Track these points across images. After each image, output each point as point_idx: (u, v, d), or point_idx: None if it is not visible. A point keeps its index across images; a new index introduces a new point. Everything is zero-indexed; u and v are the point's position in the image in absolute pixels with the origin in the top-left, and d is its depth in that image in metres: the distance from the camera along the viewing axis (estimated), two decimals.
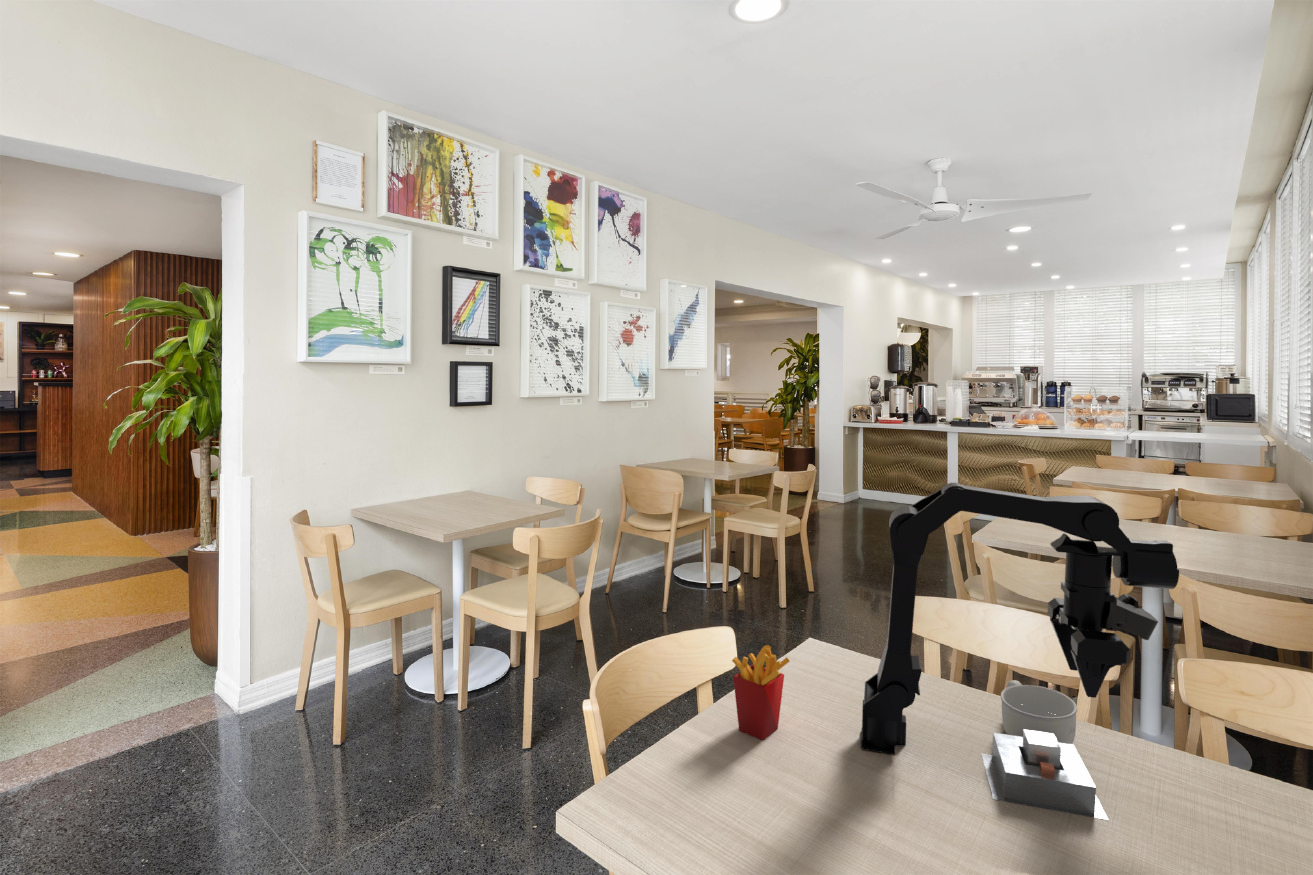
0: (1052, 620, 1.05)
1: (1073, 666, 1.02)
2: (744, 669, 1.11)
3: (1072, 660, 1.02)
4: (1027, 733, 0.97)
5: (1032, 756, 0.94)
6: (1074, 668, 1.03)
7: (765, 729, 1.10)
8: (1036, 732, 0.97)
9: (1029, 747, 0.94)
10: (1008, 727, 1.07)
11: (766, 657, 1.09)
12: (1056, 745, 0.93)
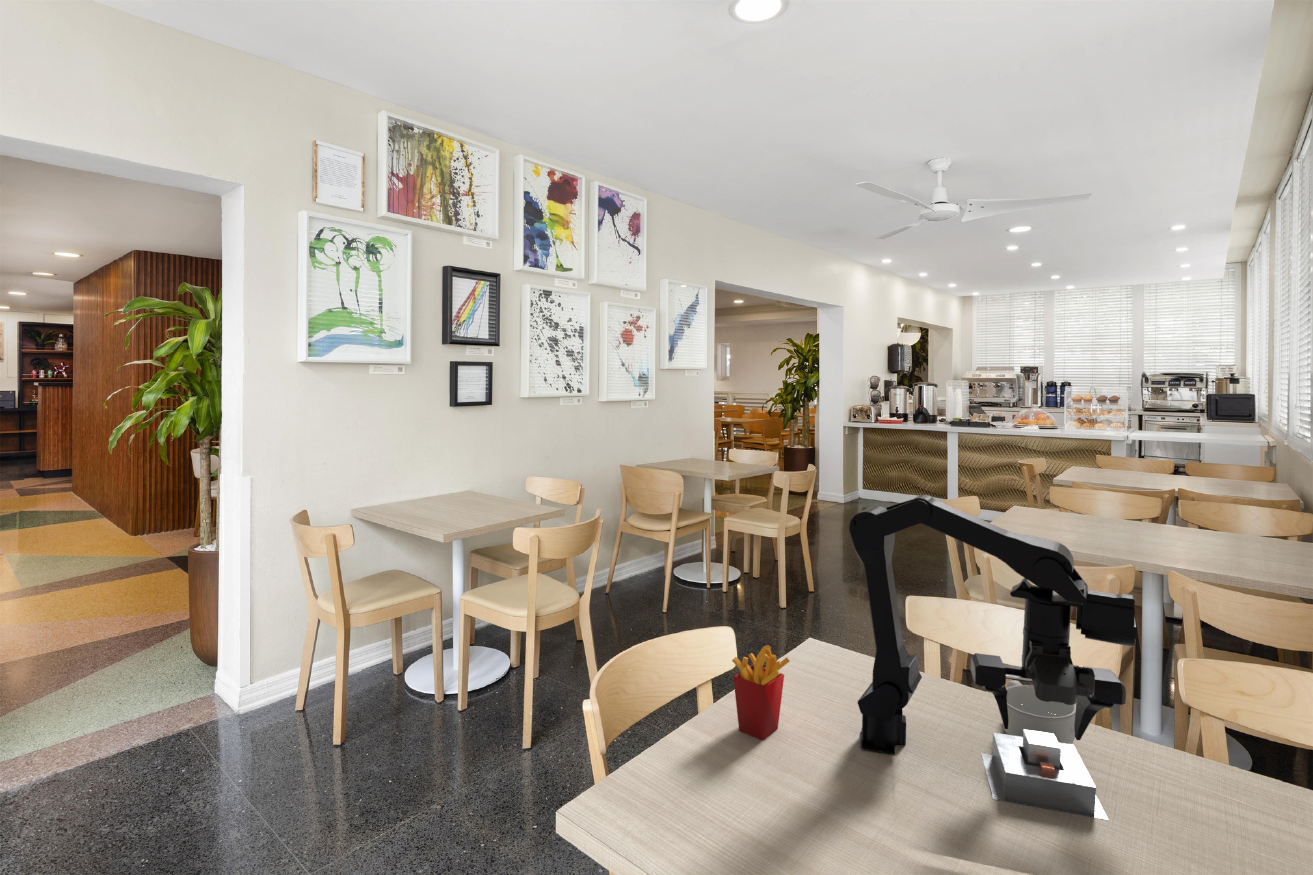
0: None
1: (1075, 734, 0.94)
2: (744, 669, 1.11)
3: (1075, 727, 0.94)
4: (1027, 733, 0.97)
5: (1032, 756, 0.94)
6: (1077, 737, 0.94)
7: (765, 729, 1.10)
8: (1036, 732, 0.97)
9: (1029, 747, 0.94)
10: (1008, 727, 1.07)
11: (766, 657, 1.09)
12: (1056, 745, 0.93)
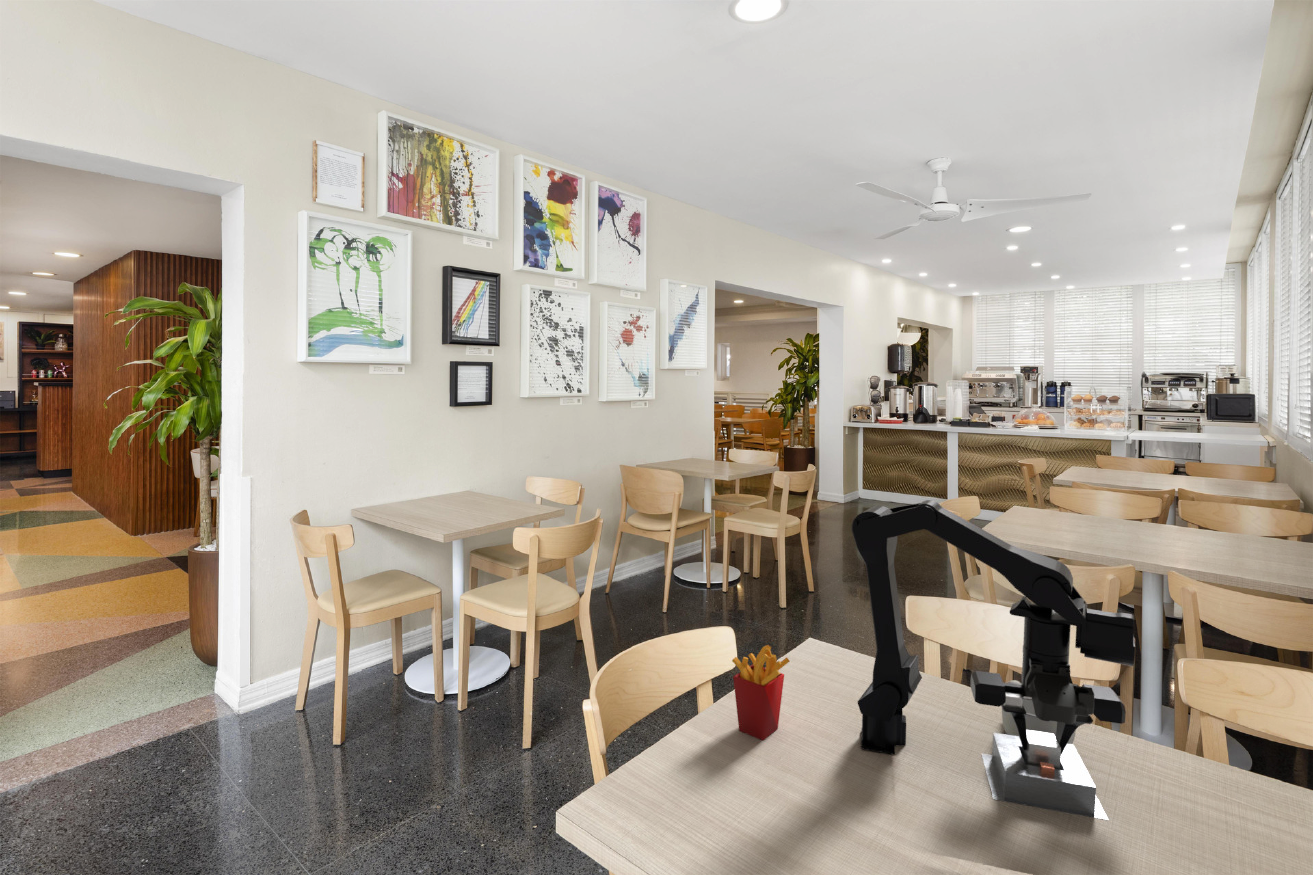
0: None
1: None
2: (744, 669, 1.11)
3: None
4: (1027, 733, 0.97)
5: (1032, 756, 0.94)
6: None
7: (765, 729, 1.10)
8: (1036, 732, 0.97)
9: (1029, 747, 0.94)
10: (1008, 727, 1.07)
11: (766, 657, 1.09)
12: (1056, 745, 0.93)
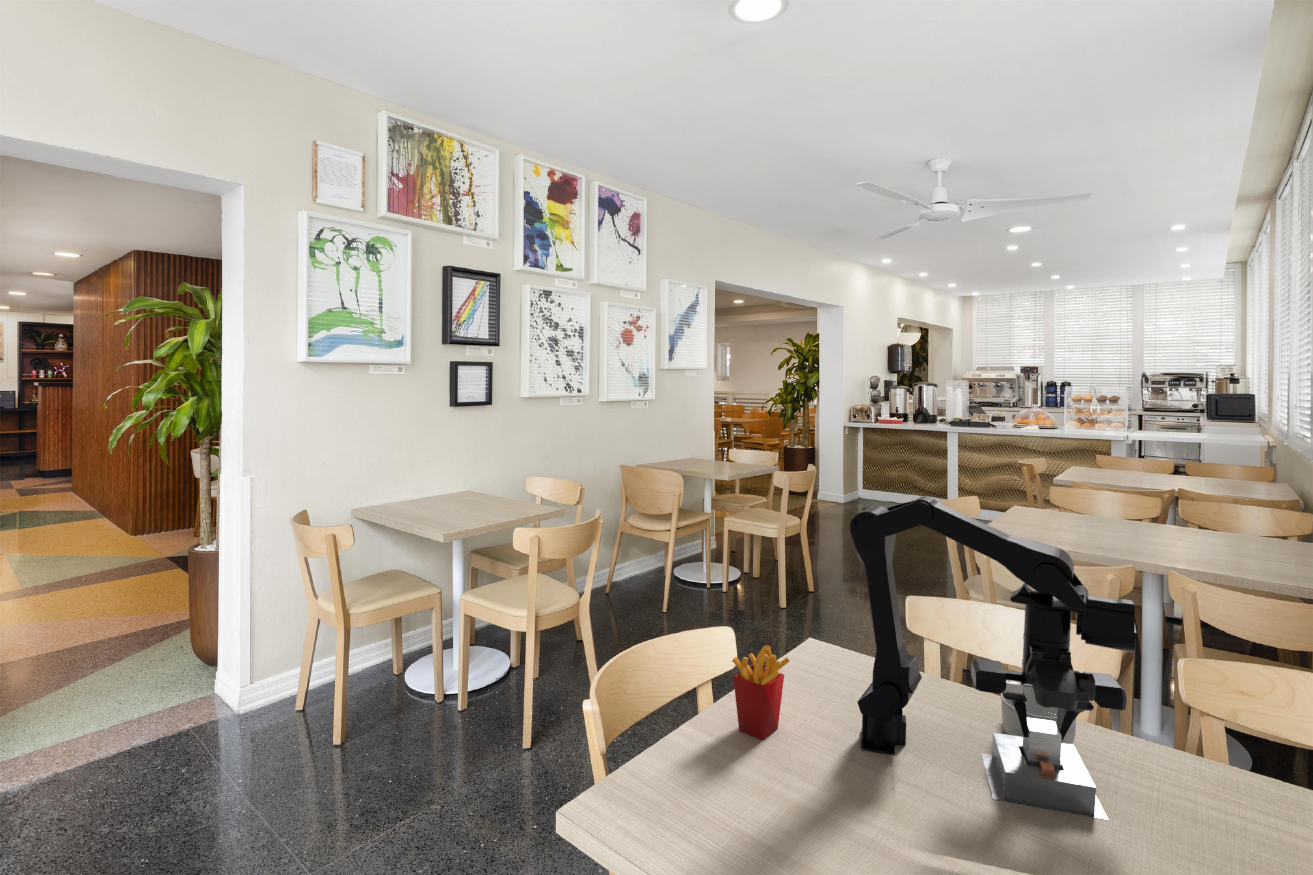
0: None
1: None
2: (744, 669, 1.11)
3: None
4: (1028, 720, 0.97)
5: (1033, 743, 0.94)
6: None
7: (765, 729, 1.10)
8: (1037, 720, 0.97)
9: (1030, 734, 0.94)
10: (1008, 727, 1.07)
11: (766, 657, 1.09)
12: (1057, 732, 0.93)
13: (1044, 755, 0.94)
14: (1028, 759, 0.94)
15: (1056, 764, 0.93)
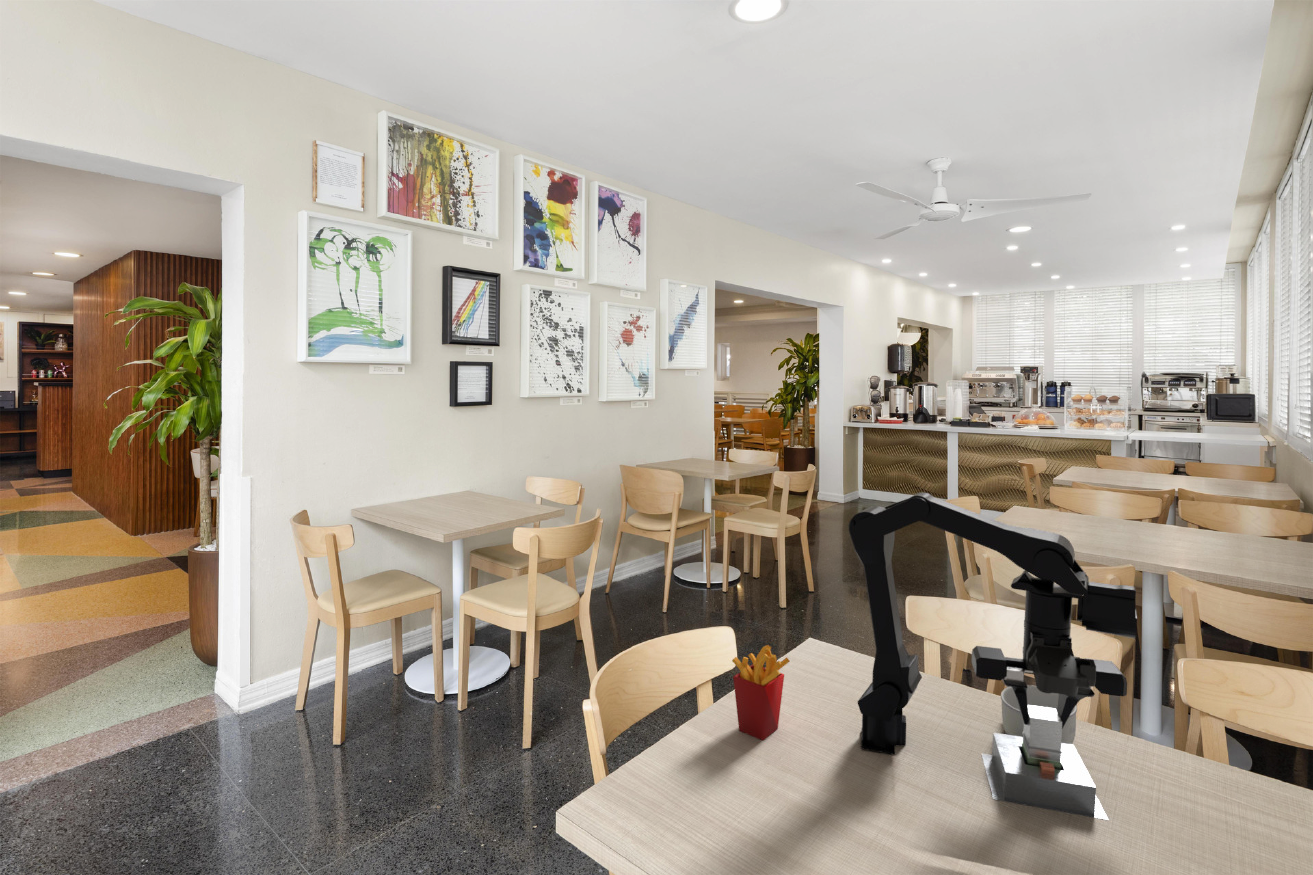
0: None
1: None
2: (744, 669, 1.11)
3: None
4: (1029, 708, 0.96)
5: (1034, 730, 0.94)
6: None
7: (765, 729, 1.10)
8: (1037, 707, 0.97)
9: (1030, 721, 0.94)
10: (1008, 727, 1.07)
11: (766, 657, 1.09)
12: (1057, 719, 0.93)
13: (1045, 742, 0.93)
14: (1029, 746, 0.94)
15: (1057, 751, 0.93)
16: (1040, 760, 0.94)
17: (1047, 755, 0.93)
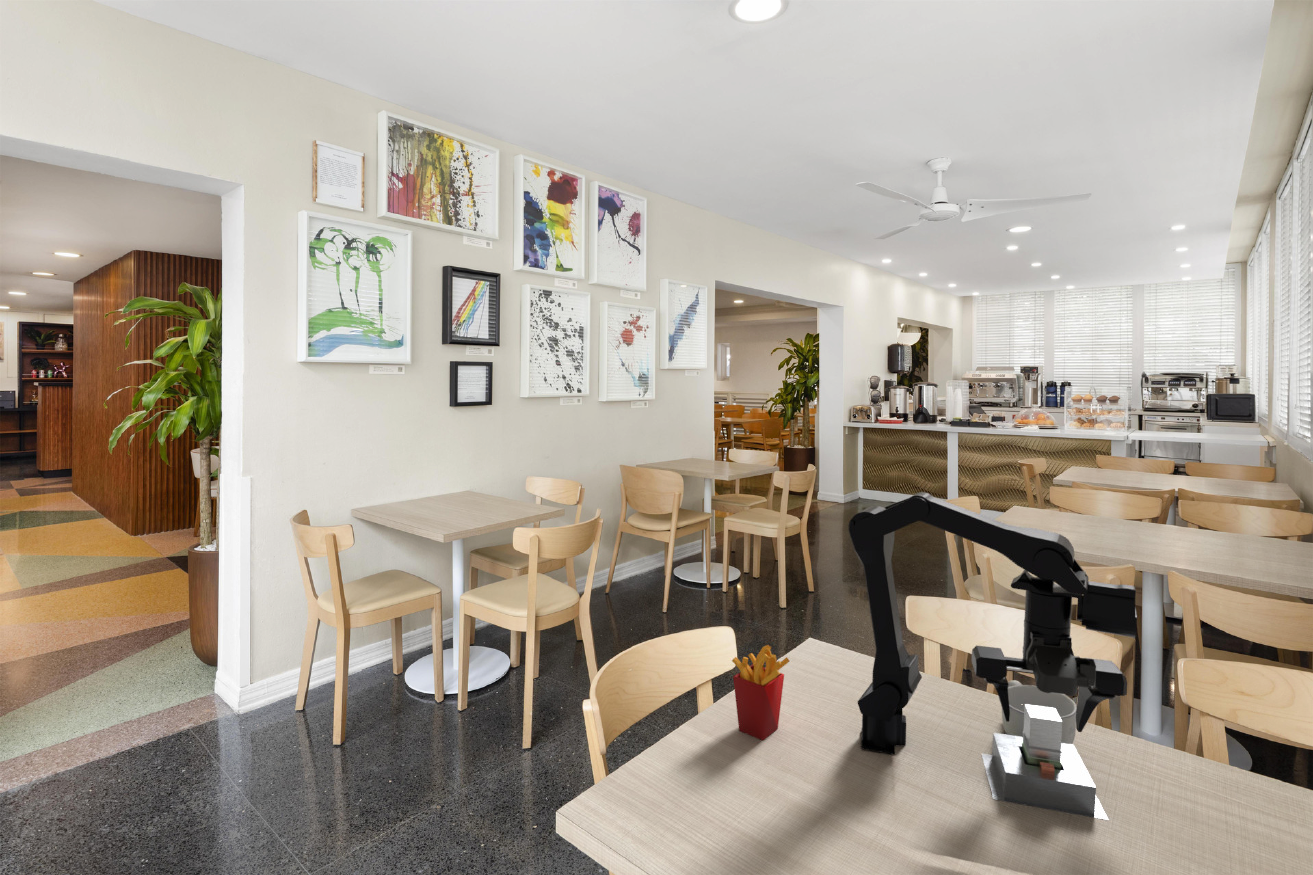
0: None
1: (1077, 725, 0.94)
2: (744, 669, 1.11)
3: (1077, 718, 0.94)
4: (1029, 707, 0.96)
5: (1034, 730, 0.94)
6: None
7: (765, 729, 1.10)
8: (1037, 707, 0.97)
9: (1030, 721, 0.94)
10: (1008, 727, 1.07)
11: (766, 657, 1.09)
12: (1057, 719, 0.93)
13: (1045, 742, 0.93)
14: (1029, 746, 0.94)
15: (1057, 751, 0.93)
16: (1040, 760, 0.94)
17: (1047, 754, 0.93)
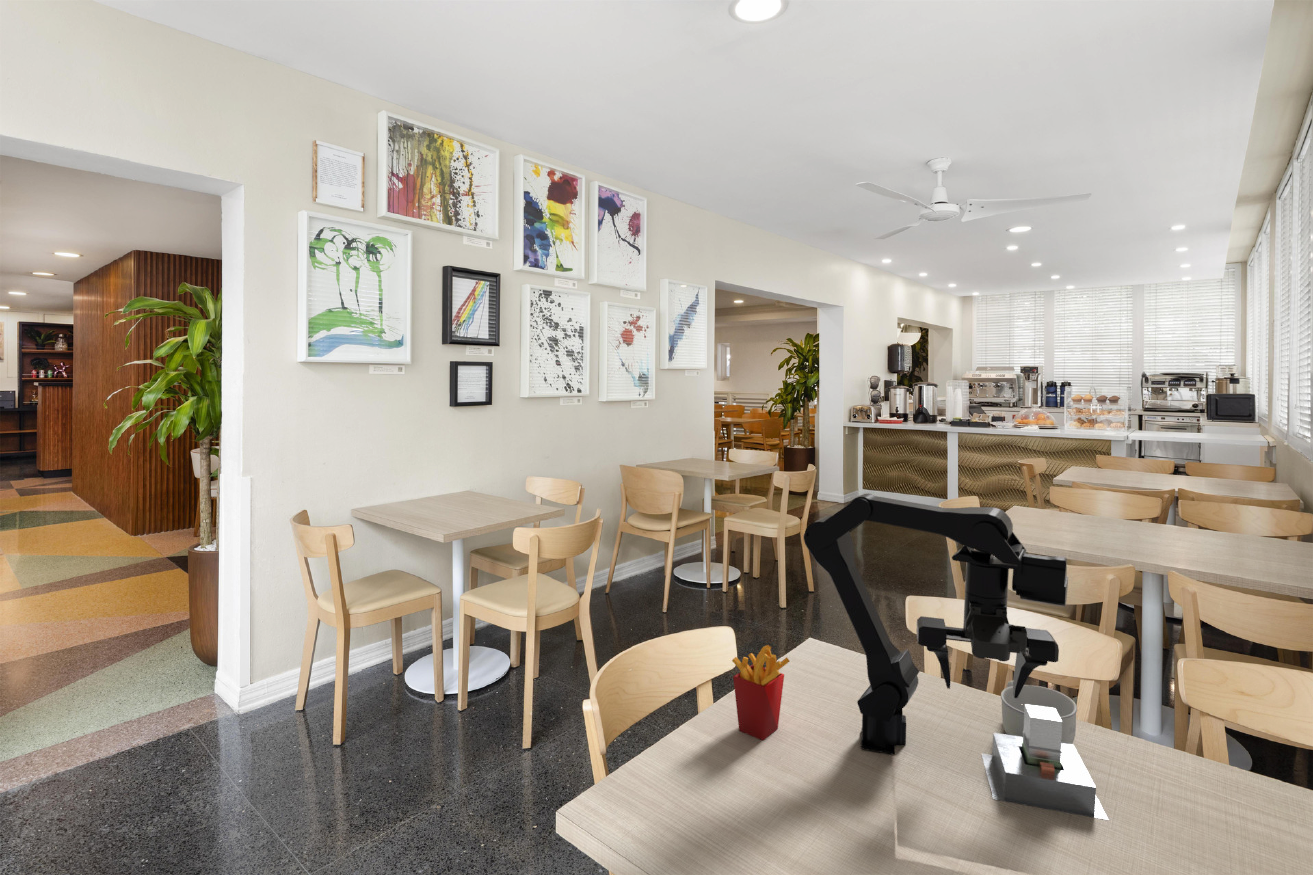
0: None
1: (1013, 692, 0.98)
2: (744, 669, 1.11)
3: (1013, 685, 0.98)
4: (1029, 707, 0.96)
5: (1034, 730, 0.94)
6: None
7: (765, 729, 1.10)
8: (1037, 707, 0.97)
9: (1030, 721, 0.94)
10: (1008, 727, 1.07)
11: (766, 657, 1.09)
12: (1057, 719, 0.93)
13: (1045, 742, 0.93)
14: (1029, 746, 0.94)
15: (1057, 751, 0.93)
16: (1040, 760, 0.94)
17: (1047, 754, 0.93)
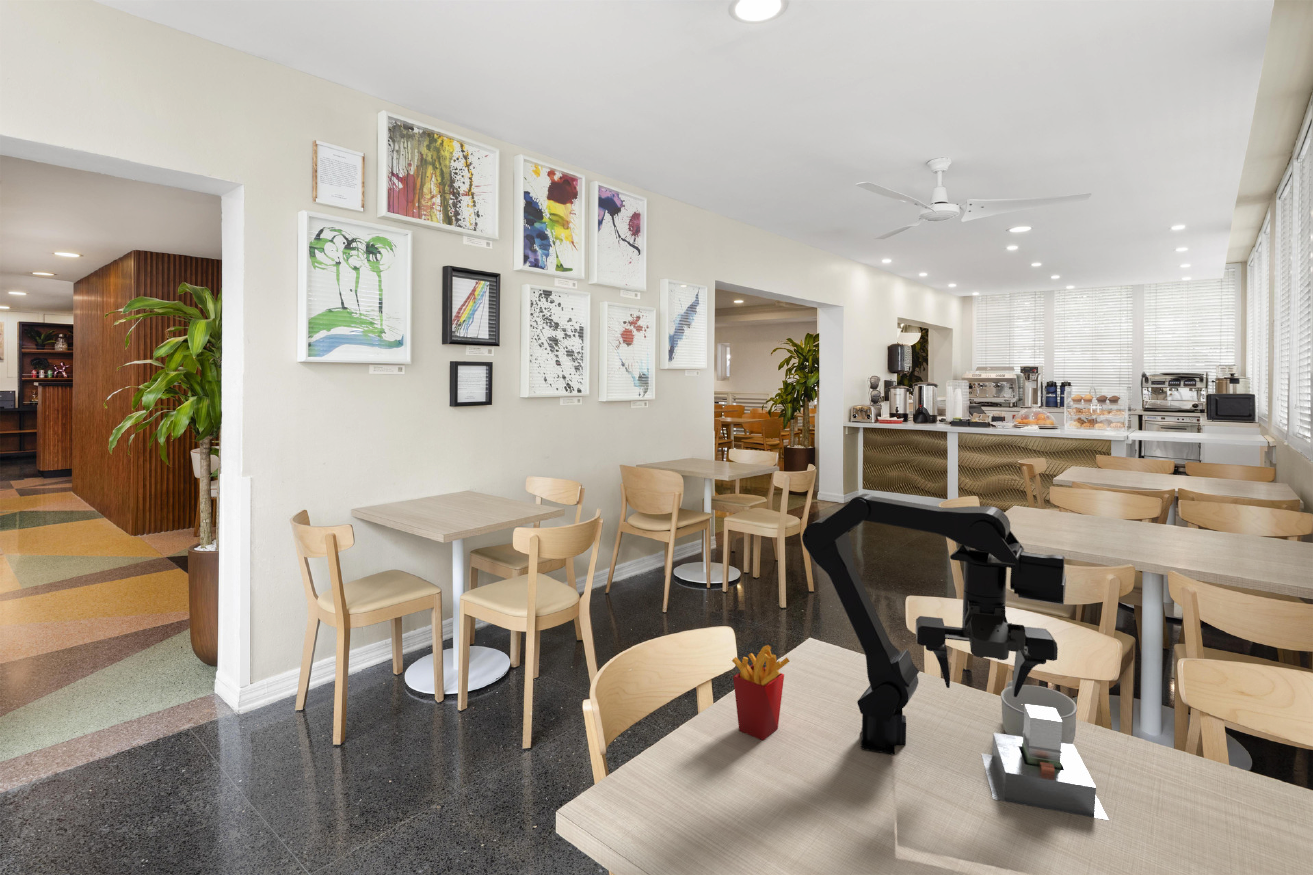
0: None
1: (1013, 691, 0.98)
2: (744, 669, 1.11)
3: (1013, 684, 0.98)
4: (1029, 707, 0.96)
5: (1034, 730, 0.94)
6: (1014, 694, 0.98)
7: (765, 729, 1.10)
8: (1037, 707, 0.97)
9: (1030, 721, 0.94)
10: (1008, 727, 1.07)
11: (766, 657, 1.09)
12: (1057, 719, 0.93)
13: (1045, 742, 0.93)
14: (1029, 746, 0.94)
15: (1057, 751, 0.93)
16: (1040, 760, 0.94)
17: (1047, 754, 0.93)
